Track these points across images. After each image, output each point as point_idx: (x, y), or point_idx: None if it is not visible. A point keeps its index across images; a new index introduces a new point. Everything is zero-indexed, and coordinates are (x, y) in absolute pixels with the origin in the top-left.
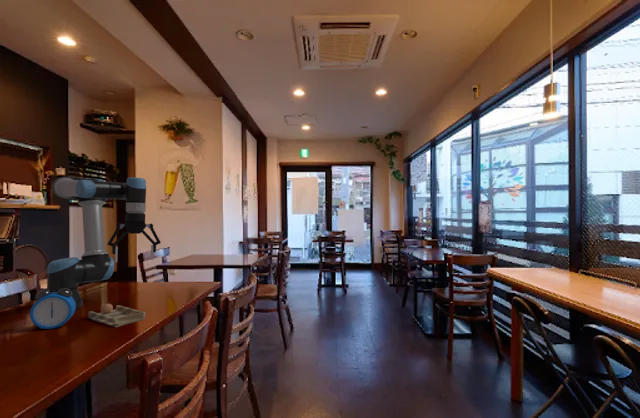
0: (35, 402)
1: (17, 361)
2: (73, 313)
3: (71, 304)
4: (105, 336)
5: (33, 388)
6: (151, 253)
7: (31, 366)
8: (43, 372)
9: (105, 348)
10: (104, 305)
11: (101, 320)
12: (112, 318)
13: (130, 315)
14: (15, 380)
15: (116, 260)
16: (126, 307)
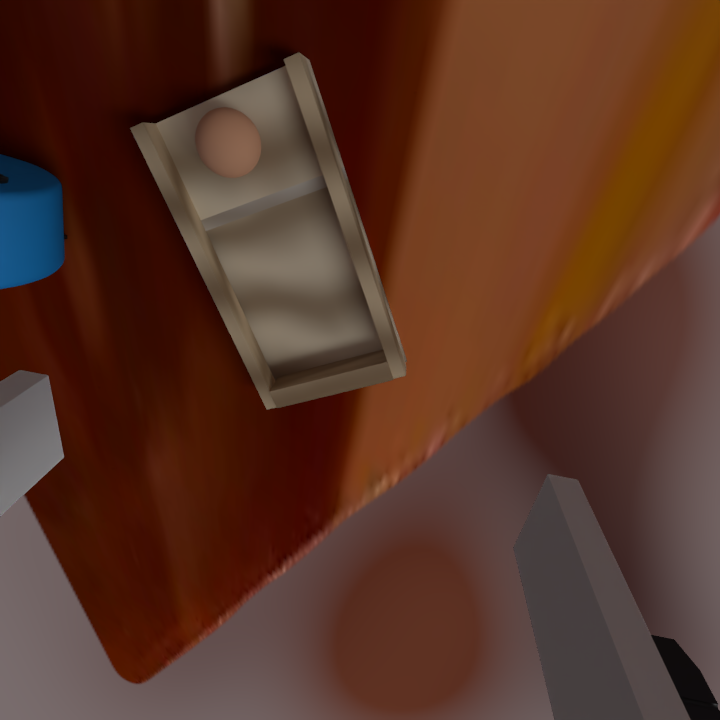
0: (149, 678)
1: (48, 503)
2: (59, 211)
3: (11, 281)
4: (240, 467)
5: (132, 640)
6: (544, 663)
7: (93, 551)
8: (129, 594)
9: (242, 557)
10: (201, 150)
11: (218, 255)
12: (254, 374)
13: (330, 389)
14: (88, 594)
15: (36, 471)
16: (339, 181)
